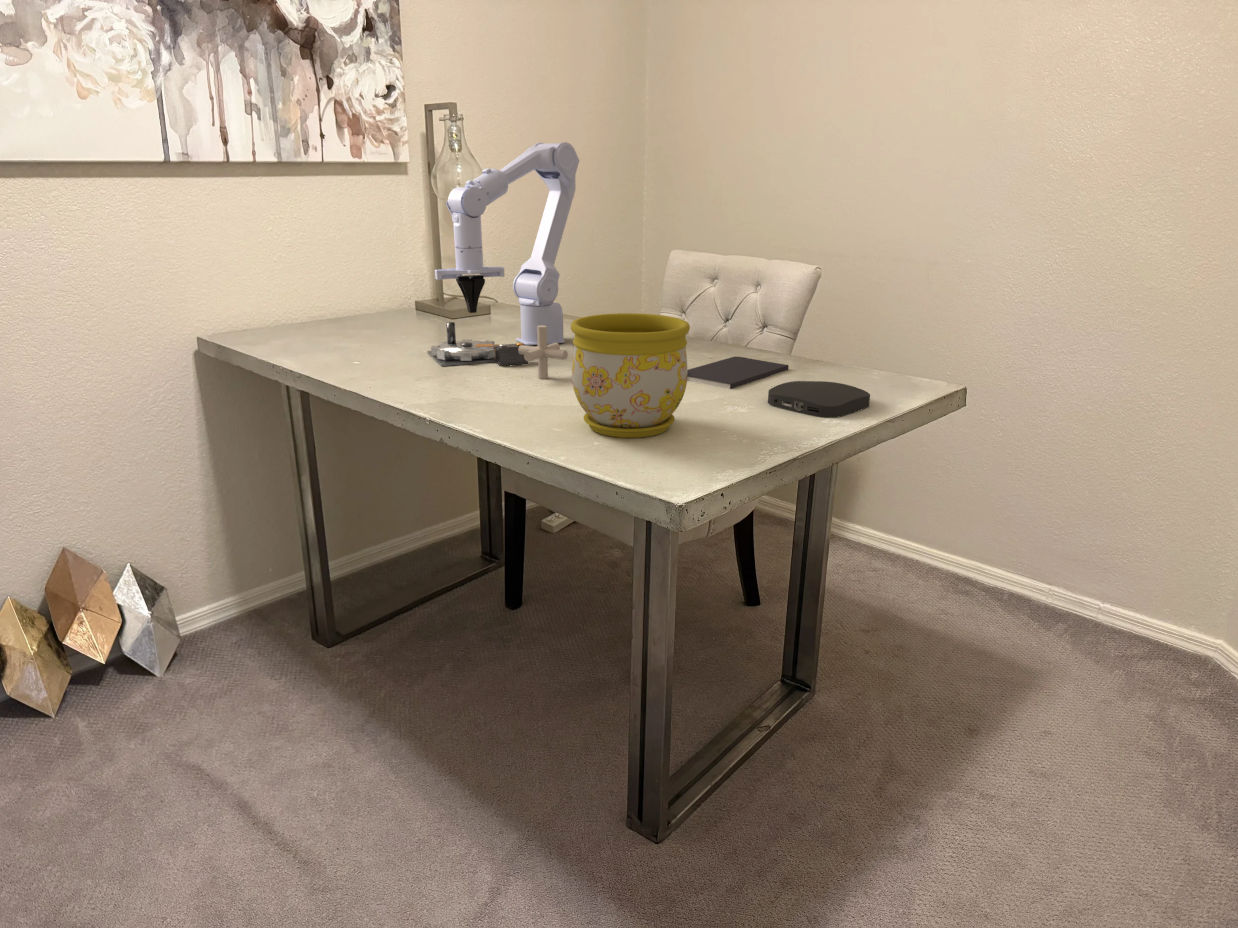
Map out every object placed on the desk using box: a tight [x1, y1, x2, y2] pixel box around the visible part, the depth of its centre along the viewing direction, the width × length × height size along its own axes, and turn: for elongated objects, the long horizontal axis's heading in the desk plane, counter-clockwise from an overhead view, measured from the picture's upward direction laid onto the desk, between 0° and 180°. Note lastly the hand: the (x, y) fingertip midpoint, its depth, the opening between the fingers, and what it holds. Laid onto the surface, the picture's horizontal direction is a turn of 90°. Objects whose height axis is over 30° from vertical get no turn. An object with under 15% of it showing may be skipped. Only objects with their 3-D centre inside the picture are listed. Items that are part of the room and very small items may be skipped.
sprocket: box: [430, 321, 501, 361], centre depth 180 cm, size 15×15×6 cm
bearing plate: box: [426, 350, 496, 367], centre depth 181 cm, size 14×14×1 cm
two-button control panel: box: [495, 342, 529, 367], centre depth 175 cm, size 6×3×4 cm, turn 113°
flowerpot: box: [570, 312, 691, 439], centre depth 131 cm, size 18×18×16 cm
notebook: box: [687, 356, 789, 390], centre depth 168 cm, size 13×2×21 cm
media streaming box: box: [767, 380, 871, 418], centre depth 147 cm, size 15×15×3 cm
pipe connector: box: [518, 325, 568, 380], centre depth 162 cm, size 10×10×10 cm
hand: (472, 312), depth 183 cm, fingers closed
